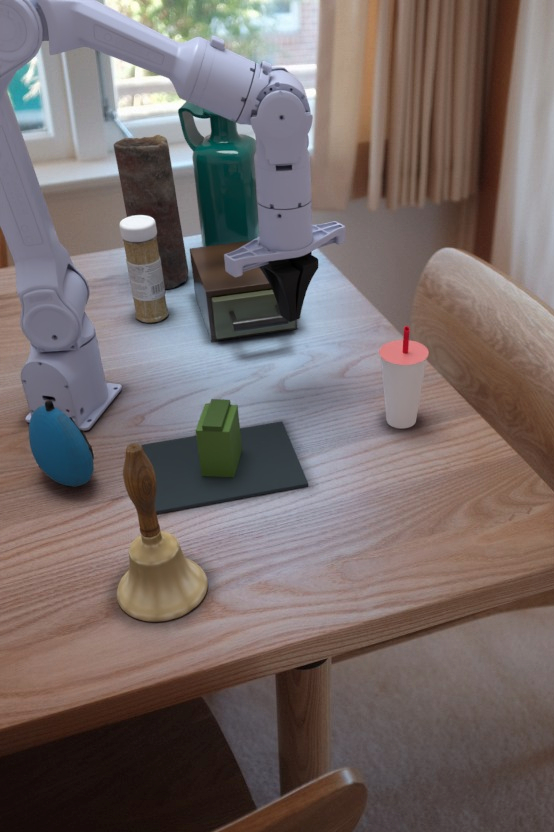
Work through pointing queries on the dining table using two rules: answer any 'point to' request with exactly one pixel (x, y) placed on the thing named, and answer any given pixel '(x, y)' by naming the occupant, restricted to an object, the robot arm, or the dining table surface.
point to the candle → (154, 198)
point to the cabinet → (222, 281)
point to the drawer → (247, 314)
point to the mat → (255, 475)
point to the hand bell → (155, 555)
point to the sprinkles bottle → (144, 267)
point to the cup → (402, 379)
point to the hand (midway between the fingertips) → (290, 317)
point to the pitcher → (222, 178)
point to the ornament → (60, 446)
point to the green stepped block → (219, 439)
